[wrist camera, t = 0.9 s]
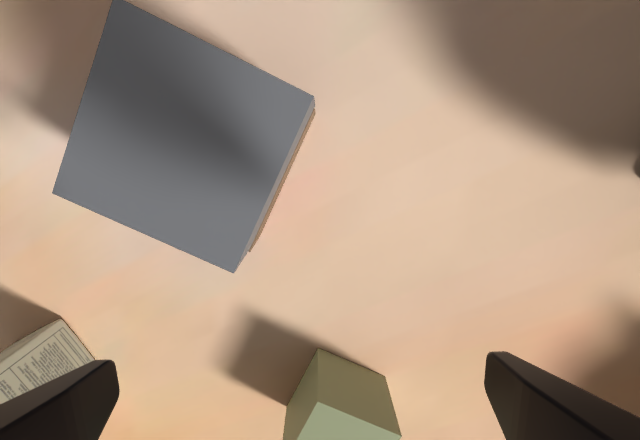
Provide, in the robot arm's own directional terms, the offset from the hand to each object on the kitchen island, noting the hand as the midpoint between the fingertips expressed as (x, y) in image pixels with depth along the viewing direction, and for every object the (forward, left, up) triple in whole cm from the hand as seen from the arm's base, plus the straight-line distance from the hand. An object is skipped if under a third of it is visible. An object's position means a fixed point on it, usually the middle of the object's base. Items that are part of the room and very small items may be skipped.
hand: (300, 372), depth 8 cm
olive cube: (-6, +9, -13) cm, 18 cm away
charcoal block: (+7, -2, -10) cm, 13 cm away
